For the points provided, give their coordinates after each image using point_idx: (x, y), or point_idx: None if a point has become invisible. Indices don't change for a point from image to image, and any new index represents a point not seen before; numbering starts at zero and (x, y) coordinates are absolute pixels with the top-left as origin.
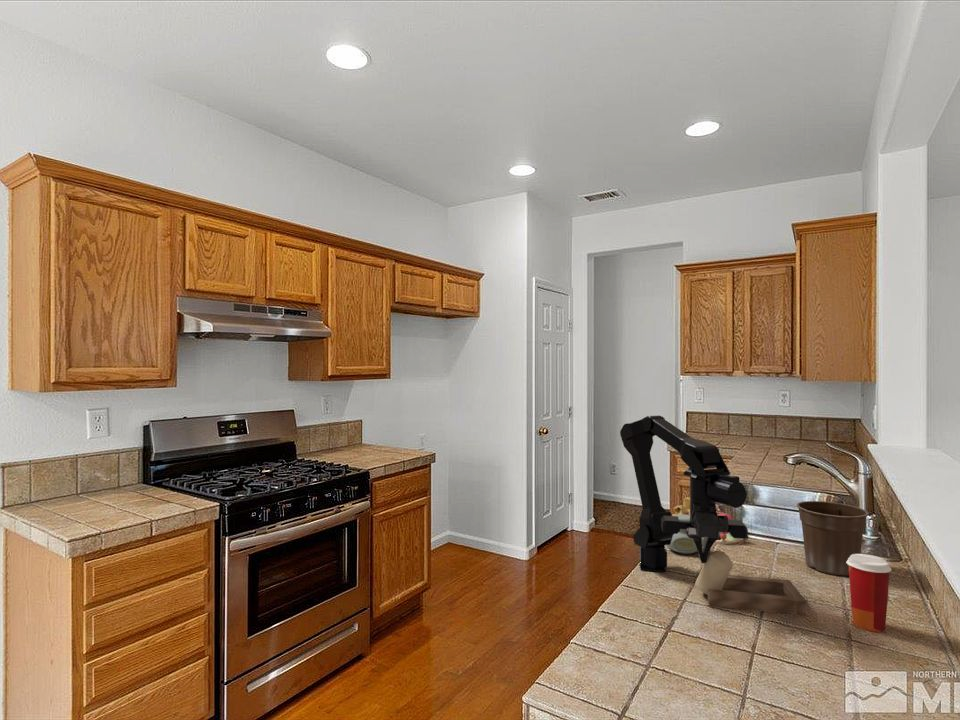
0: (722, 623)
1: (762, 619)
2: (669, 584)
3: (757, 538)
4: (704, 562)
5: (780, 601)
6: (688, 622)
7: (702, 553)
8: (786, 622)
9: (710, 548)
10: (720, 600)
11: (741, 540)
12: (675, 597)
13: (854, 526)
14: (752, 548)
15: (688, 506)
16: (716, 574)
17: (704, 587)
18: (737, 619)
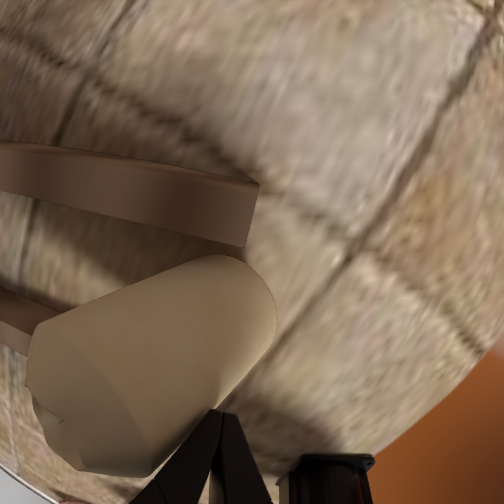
0: (273, 13)
1: (83, 69)
2: (339, 385)
3: (46, 495)
4: (215, 411)
5: None
6: (419, 40)
7: (226, 471)
8: (25, 67)
9: (139, 497)
10: (201, 177)
11: (68, 502)
12: (380, 276)
13: None
14: (50, 481)
15: None
16: (161, 302)
17: (249, 283)
18: (184, 50)
